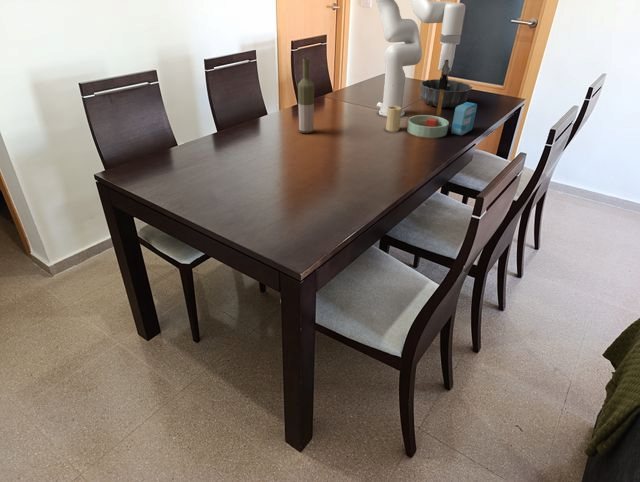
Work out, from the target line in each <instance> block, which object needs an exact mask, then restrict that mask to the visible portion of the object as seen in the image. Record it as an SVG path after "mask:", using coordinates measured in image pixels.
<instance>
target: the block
mask: <svg viewBox="0 0 640 482" xmlns="http://www.w3.org/2000/svg"><path fill="white" fill-rule="evenodd" d="M437 125H438V119H435V118H428V119H427V120H426V126H425V127H437Z"/></svg>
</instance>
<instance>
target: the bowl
mask: <svg viewBox="0 0 640 482" xmlns="http://www.w3.org/2000/svg"><path fill="white" fill-rule="evenodd" d="M428 118H435V119H438V125H437V127H426V120H427V119H428ZM448 130H449V120H447V119H445V118H444V117H441V116H437V115H436V116H435V115H429V114H421V115H419V114H418V115H413V116H410V117H408V120H407V126H406V131H407V133H409V134H410V135H413V136H416V137H420V138H429V139H435V138H443V137H445V136H447V134H448Z"/></svg>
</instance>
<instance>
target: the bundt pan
mask: <svg viewBox="0 0 640 482" xmlns="http://www.w3.org/2000/svg"><path fill="white" fill-rule="evenodd" d="M439 82H440V78H433V79H426V80H422V81H421V82H420V83H419V85H420V99H421V100H422V101H423V102H424V103H425V104H427V105H429V106H430V107H436V108H438V101H439V95H440V89H439ZM472 90H473V86H471V85H470V84H469V83H466V82H463V81H458V80H455V79H454V80H453V79H448V83H447V89H446V90H444V95H443V101H442V108H443V109H446V108H447V109H452V108H453V109H456V107H457V106H459V105H461V104H464V103H466V102H467V100H468V97H469V95H470V92H471V91H472Z"/></svg>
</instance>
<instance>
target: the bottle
mask: <svg viewBox="0 0 640 482" xmlns="http://www.w3.org/2000/svg"><path fill="white" fill-rule="evenodd" d="M297 98H298V99H297V104H298V131H299V133H301V134H311V133H313V132H314V129H315V127H314V125H315V124H314V123H315V122H314V119H315V83H314V82H313V81H312V80H311V79H310V58H309V57H303V58H302V78H301V80H300V81H299V82H298V84H297Z"/></svg>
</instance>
